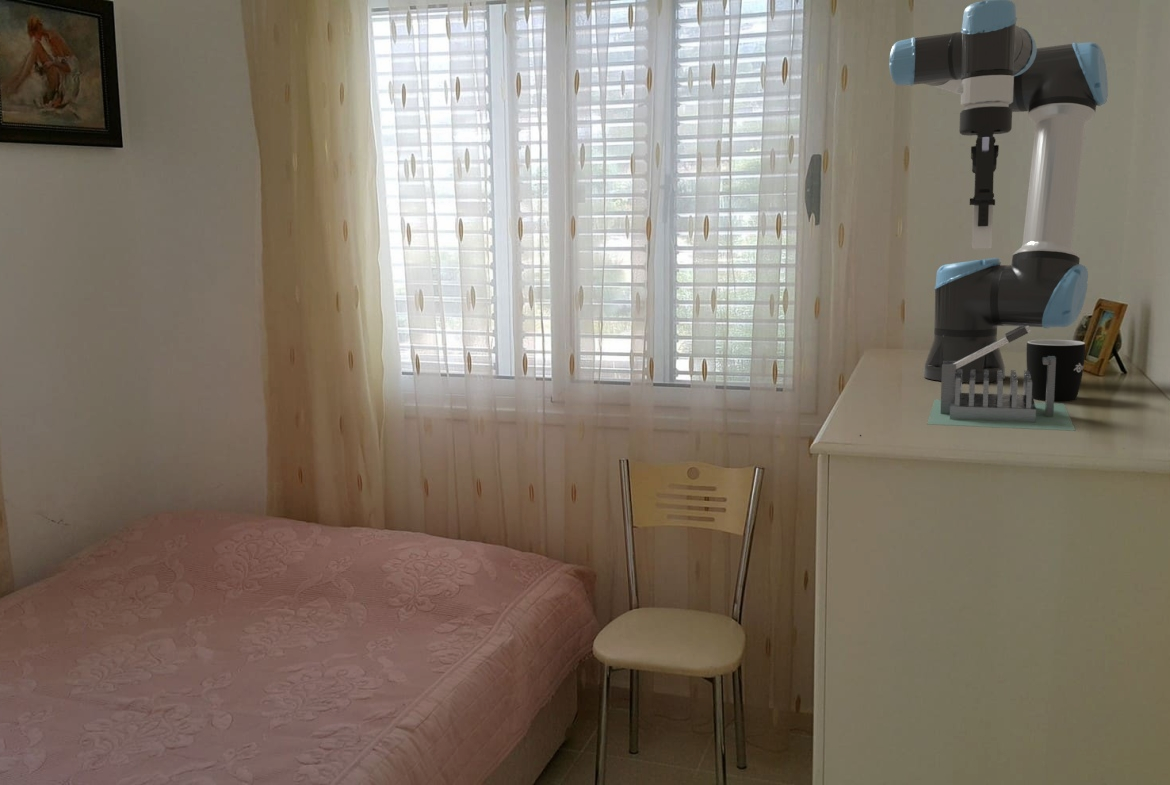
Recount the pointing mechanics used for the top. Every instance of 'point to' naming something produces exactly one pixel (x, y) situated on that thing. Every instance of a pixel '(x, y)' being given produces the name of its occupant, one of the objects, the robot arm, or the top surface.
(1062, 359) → the mug
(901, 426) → the top surface
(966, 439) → the top surface
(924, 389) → the top surface
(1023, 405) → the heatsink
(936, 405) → the board
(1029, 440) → the top surface
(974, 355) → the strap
